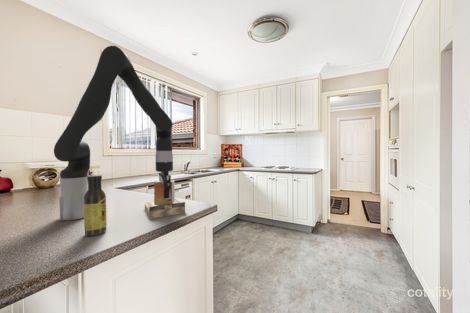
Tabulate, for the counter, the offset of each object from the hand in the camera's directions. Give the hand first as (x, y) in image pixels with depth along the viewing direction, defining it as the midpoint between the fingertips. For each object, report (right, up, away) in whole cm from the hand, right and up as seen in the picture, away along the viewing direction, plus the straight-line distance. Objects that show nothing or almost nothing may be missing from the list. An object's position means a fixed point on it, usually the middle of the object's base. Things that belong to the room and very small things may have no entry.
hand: (164, 196), depth 92 cm
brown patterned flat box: (-1, -7, +2) cm, 8 cm away
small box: (0, -4, 0) cm, 4 cm away
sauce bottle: (-16, -8, -23) cm, 29 cm away
